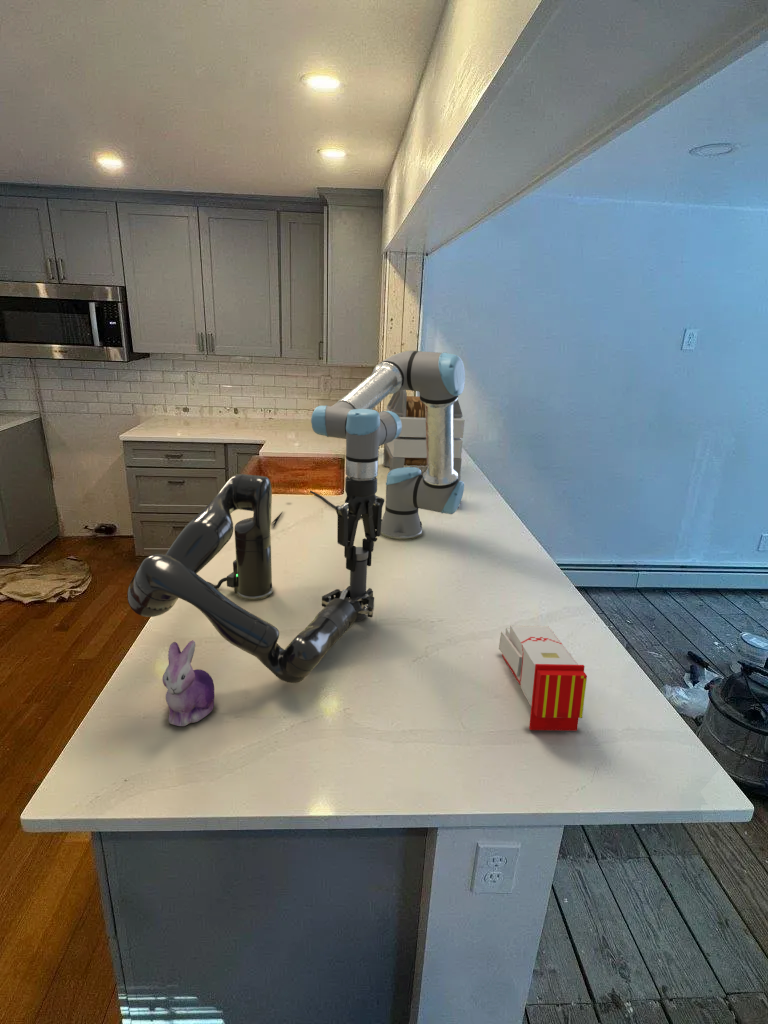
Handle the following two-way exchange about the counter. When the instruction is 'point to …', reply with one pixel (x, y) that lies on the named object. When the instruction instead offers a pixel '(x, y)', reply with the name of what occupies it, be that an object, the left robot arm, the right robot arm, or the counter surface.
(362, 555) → the lid
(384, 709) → the counter surface
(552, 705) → the toy
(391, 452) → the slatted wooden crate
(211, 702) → the figurine
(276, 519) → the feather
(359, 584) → the dark gray cylinder
